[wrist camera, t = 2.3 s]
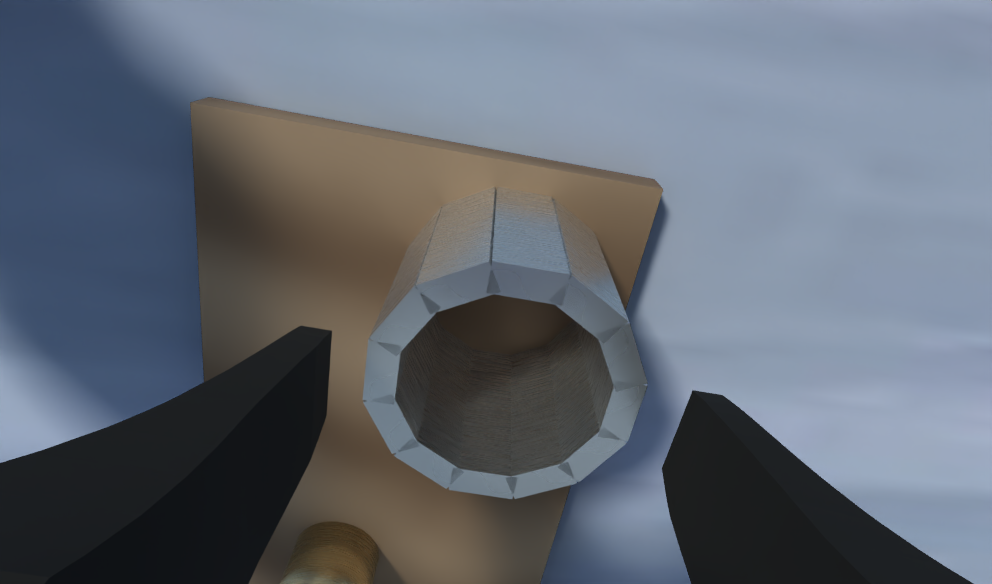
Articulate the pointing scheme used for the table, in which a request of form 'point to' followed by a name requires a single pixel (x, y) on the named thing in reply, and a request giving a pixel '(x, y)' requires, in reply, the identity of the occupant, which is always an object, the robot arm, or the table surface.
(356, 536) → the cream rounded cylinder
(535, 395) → the steel collar
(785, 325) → the table surface
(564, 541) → the table surface
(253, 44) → the table surface
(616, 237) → the walnut board
